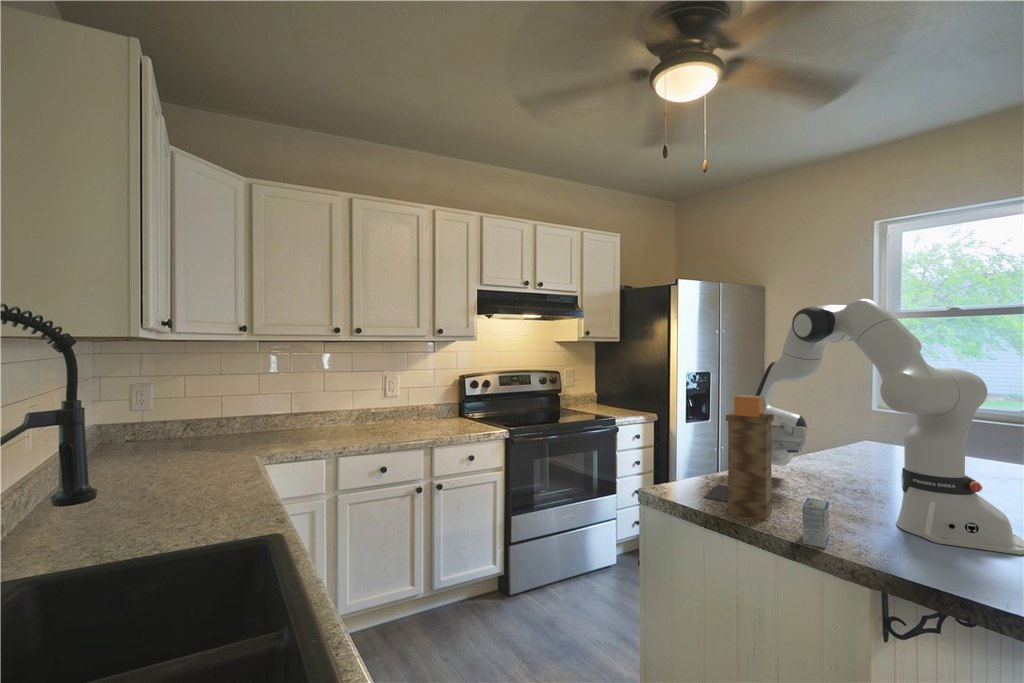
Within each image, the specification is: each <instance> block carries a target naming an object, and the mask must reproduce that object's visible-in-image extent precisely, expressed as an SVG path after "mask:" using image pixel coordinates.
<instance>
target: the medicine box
mask: <svg viewBox="0 0 1024 683" xmlns="http://www.w3.org/2000/svg"><path fill="white" fill-rule="evenodd" d="M829 510H830V509H829V501H828V500H825V499H820V498H813V497H811V498H809V497H807V498H806V500H805V502H804V504H803V506H802V510H801V511H802V512H801V513H802V543H803V545H807V546H813V547H817V548H821V549H826V548H827V545H828V541H829V536H830V533H829V532H830V528H829V527H830V524H829V522H830V521H829V518H830V515H829V513H830V512H829Z"/></svg>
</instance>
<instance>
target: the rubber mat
mask: <svg viewBox="0 0 1024 683" xmlns="http://www.w3.org/2000/svg"><path fill="white" fill-rule="evenodd" d="M703 499H707V500H712V499H713V501H718V500H719V502H723V501H724V503H728V485H725V484H720V483H719V484H717V485H716V486H714V487H713V488H712V489H711V490H709V492H707V493H706V494H705V495H704V496H703Z"/></svg>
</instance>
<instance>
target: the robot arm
mask: <svg viewBox="0 0 1024 683" xmlns="http://www.w3.org/2000/svg"><path fill="white" fill-rule="evenodd" d="M845 341H853V342H854V343H855V345H857V347H858V348H859V349H860V350H861V351H862V352H863V354H864V355H865V356H866V357H867V358H868V359H869V361H871V363H872V364H873V365H874V367H875V368H876V370H877V371H878V373H879V376H880V378H881V380H882V382H881V384H880V392H879V393H880V397H881V399H882V402H884V404H885V405H886V406H887V407H888V408H889V409H891V410H892V411H894V412H898V413H902V414H907V415H912V416H917V417H916V419H915V422H914V424H913V426H912V427H911V429H910V430H909V431H907V433H906V434H905V436H904V442H903V444H904V446H903V447H904V448H903V449H904V450H903V452H904V453H903V454H904V456H903V457H904V460H903V461H904V465H903V466H904V467H902V469H901V489H902V492H903V494H902V501H901V507H900V509H899V514H898V517H897V520H896V523H895V524H896V526H897V527H898V528H899V529H901V530H903V531H906V532H908V533H910V534H913V535H915V536H918V537H921V538H924V539H926V540H928V541H930V542H933V543H936V544H941V545H947V546H949V545H950V546H955V547H962V548H970V549H976V550H977V549H978V550H985V551H990V552H991V551H993V552H999V553H1005V554H1010V555H1011V554H1013V555H1024V539H1023V538H1022V537H1020V536H1018V535H1016V534H1014V533H1013V528H1012V524H1011V521H1010V520H1009V518H1008V516H1007V515H1006V514H1005V513H1004V512H1003V511H1002V510H1000V509H999V508H997V507H996V506H994V505H993V504H992V503H990V502H989V501H987V500H986V499H985V498H984V497H982V496H980V495H979V494H978V493H980V492H981V491H982V490H983V486H982V484H981V483H980V482H978V481H976V479H973V478H972V477H971V476H968V475H967V474H966V447H967V446H966V444H967V439H968V434H969V431H970V428H971V425H972V422H973V419H974V417H975V414H976V413H977V411H978V409H980V407H981V406H982V405H983V403H985V402H986V399H987V397H988V386H987V385H986V383H985V382H984V380H983V378H981V377H980V376H979V375H977V374H975V373H972V372H969V371H966V370H962V369H959V368H949V367H947V368H935V367H933V366H931V365H930V364H929V363H927V362H926V360H925V359H924V357H923V355H922V353H921V352H922V351H921V350H922V344H921V342H920V340H919V339H918V338H917V337H916V336H915V335H914V334H913V333H912V332H911V331H910V330H909V329H908V328H907V327H906V326H905V325H904V324H903V323H902V322H901V321H899V319H898V318H897V317H895V315H893V314H892V313H891V312H890V311H888V309H886V308H884V307H883V306H882V305H880V304H878V303H877V302H876V301H874V300H871V299H868V298H859V299H856V300H853V301H851V302H849V303H848V304H824V305H817V306H808V307H805V308H804V307H803V308H802V309H799V311H796V313H795V314H794V316H793V318H792V322H791V325H790V328H789V330H788V333H787V335H786V337H785V341H784V344H783V348H782V351H781V355H780V357H779V358H778V359H777V361H772V362H771V363H770V364H769V365H768V366H767V368H766V369H765V371H764V373H763V376H762V379H761V381H760V383H759V385H758V388H757V390H756V392H755V394H754V396H764V400H765V411H764V414H773V415H774V420H773V421H772V422H771V444H772V465H774V466H776V467H784V466H787V465H788V464H790V463H791V462H792V460H793V455H794V453H796V454H797V453H799V454H800V453H803V451H804V449H805V446H806V444H807V437H808V436H807V435H808V434H807V433H808V432H807V431H808V425H807V422H806V420H805V419H804V417H803V416H802V415H800V414H798V413H794V412H791V411H787V410H784V409H781V408H779V407H774V406H771V405H770V404H769V401H770V400H771V399H770V398H771V396H772V395H773V394H772V393H773V391H774V389H775V387H776V385H777V384H778V383H783V382H785V383H786V382H799V381H805V380H807V379H810V378H812V377H813V376H815V375H816V374H817V373H818V371H819V369H820V368H821V367H820V366H821V363H822V359H823V354H824V350H825V346H826V344H827V343H838V342H845Z"/></svg>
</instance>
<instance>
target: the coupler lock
mask: <svg viewBox="0 0 1024 683" xmlns="http://www.w3.org/2000/svg"><path fill="white" fill-rule="evenodd" d="M733 398H734V399H733V406H734V407H733V412H734V416H746V417H761V416H763V415H764V411H765V400H764V396H755V395H751V394H749V395H748V394H738V395H735V396H734V397H733Z"/></svg>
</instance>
